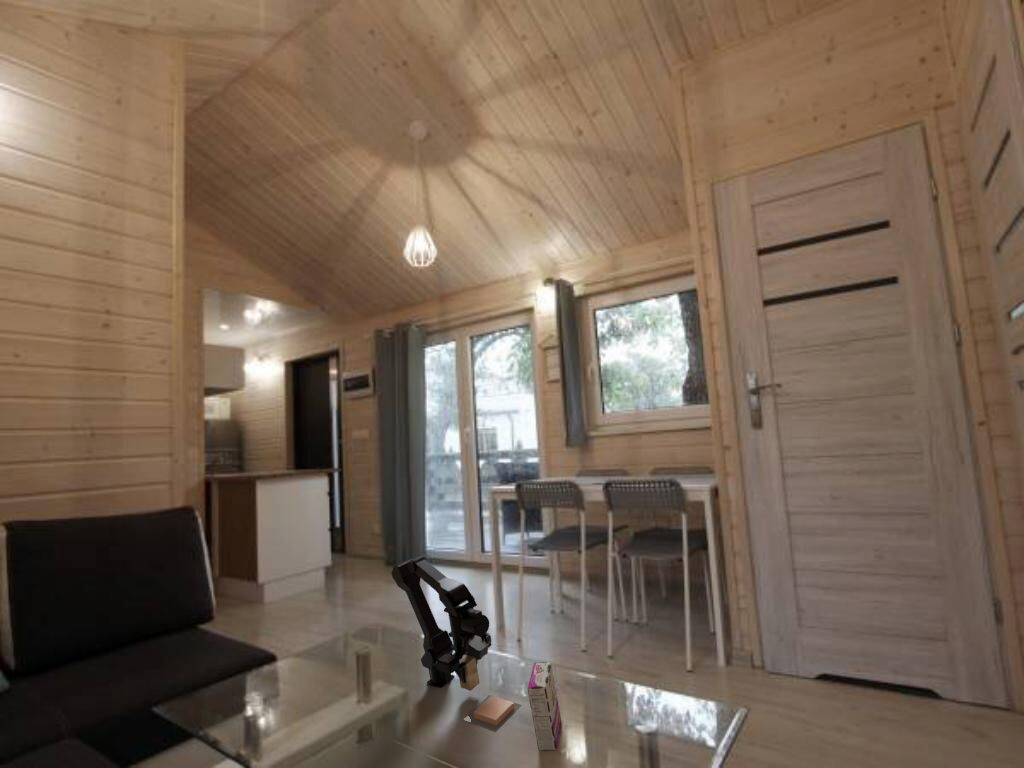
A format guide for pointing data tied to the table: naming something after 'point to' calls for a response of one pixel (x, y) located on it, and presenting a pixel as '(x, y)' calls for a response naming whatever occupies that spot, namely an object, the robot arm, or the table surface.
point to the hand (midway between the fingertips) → (469, 678)
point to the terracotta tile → (494, 710)
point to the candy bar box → (544, 706)
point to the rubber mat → (488, 725)
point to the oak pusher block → (470, 673)
